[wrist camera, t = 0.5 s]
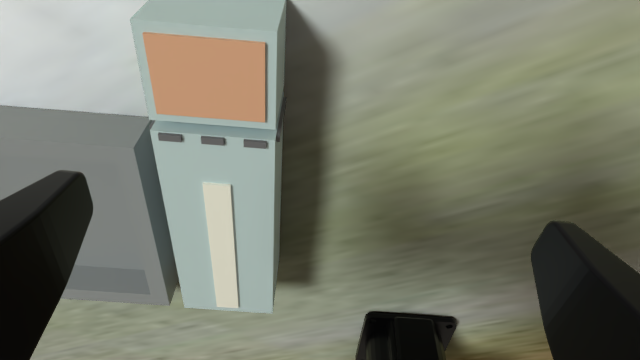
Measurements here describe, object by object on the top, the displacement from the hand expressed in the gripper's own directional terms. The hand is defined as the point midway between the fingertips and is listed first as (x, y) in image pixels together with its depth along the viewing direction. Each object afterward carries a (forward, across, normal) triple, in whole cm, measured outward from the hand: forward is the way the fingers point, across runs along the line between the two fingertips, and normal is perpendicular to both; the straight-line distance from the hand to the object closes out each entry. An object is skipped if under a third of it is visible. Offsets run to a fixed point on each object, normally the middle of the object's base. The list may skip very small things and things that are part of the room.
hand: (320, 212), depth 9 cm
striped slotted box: (+13, +4, +10) cm, 17 cm away
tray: (+13, +14, +13) cm, 23 cm away
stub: (+13, +4, +2) cm, 14 cm away
